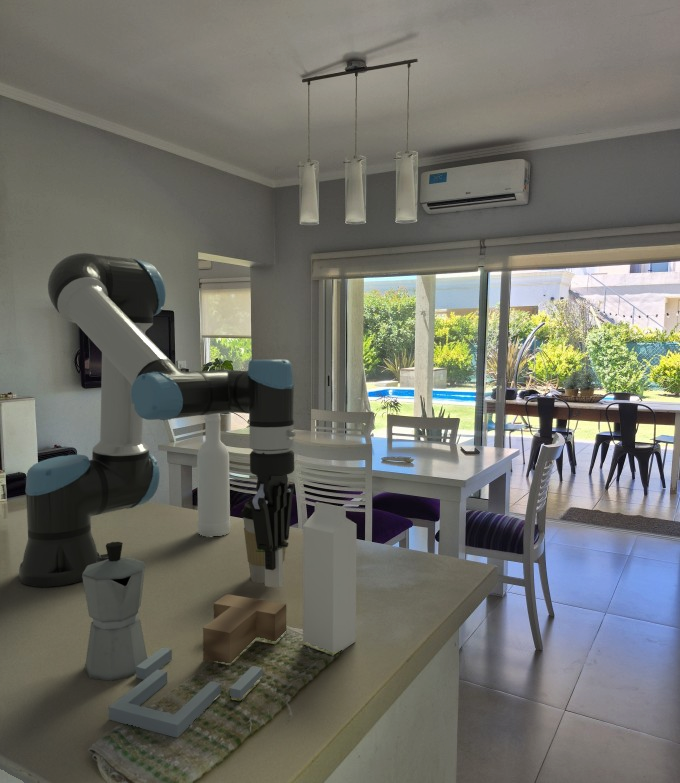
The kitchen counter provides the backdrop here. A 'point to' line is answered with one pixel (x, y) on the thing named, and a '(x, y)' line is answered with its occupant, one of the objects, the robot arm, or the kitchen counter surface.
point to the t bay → (155, 679)
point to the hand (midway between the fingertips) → (274, 585)
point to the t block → (241, 626)
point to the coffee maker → (114, 615)
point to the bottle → (213, 482)
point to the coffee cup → (254, 547)
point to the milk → (329, 578)
